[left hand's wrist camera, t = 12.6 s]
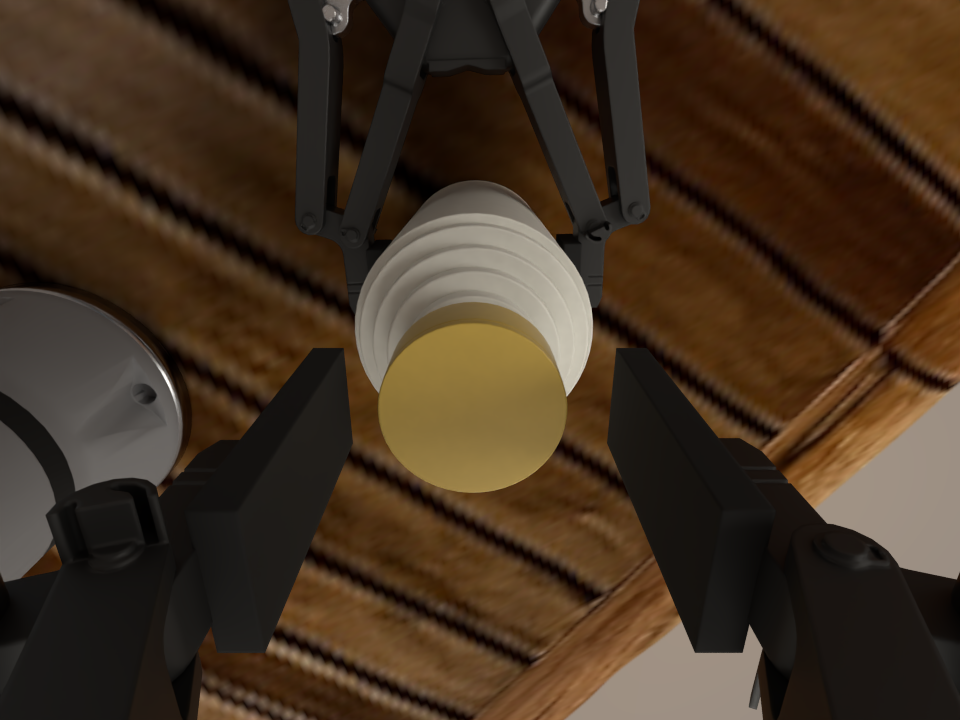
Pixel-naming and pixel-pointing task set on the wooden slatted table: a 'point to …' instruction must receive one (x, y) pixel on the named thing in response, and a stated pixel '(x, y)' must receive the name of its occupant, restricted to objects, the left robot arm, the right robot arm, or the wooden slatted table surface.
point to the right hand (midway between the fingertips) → (478, 370)
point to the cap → (472, 398)
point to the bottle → (474, 276)
